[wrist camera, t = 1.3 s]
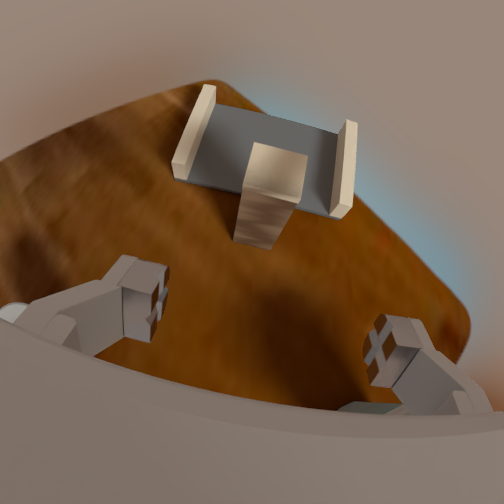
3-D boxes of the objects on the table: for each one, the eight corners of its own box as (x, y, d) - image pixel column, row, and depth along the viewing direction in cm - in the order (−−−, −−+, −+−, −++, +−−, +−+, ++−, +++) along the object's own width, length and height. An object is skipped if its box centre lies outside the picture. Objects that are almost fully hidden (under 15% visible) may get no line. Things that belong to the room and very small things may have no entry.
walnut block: (232, 241, 38) (242, 184, 24) (240, 209, 39) (254, 142, 25) (270, 251, 38) (300, 199, 24) (277, 218, 39) (307, 155, 26)
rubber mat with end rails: (174, 179, 39) (171, 162, 35) (204, 104, 43) (204, 84, 39) (339, 220, 40) (352, 207, 36) (346, 140, 44) (357, 123, 40)
